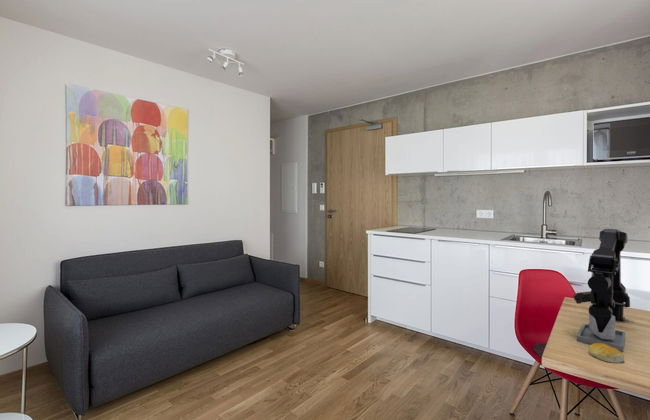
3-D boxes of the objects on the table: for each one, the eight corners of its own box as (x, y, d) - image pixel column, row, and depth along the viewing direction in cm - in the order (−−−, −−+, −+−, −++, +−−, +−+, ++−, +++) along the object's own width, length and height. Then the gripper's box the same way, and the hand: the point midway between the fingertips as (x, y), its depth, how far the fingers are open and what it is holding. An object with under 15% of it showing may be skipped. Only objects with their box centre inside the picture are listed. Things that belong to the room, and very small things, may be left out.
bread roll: (605, 350, 113) (605, 339, 113) (629, 363, 104) (630, 351, 104) (581, 351, 113) (581, 339, 113) (604, 363, 104) (604, 351, 104)
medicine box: (615, 340, 118) (616, 316, 118) (601, 339, 119) (601, 315, 119) (601, 331, 126) (602, 309, 125) (588, 330, 127) (589, 308, 126)
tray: (583, 328, 133) (583, 323, 133) (625, 337, 124) (625, 332, 124) (576, 341, 120) (576, 335, 120) (623, 352, 112) (623, 346, 112)
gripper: (579, 279, 134) (578, 317, 135) (571, 287, 121) (570, 329, 121) (615, 284, 126) (614, 324, 127) (611, 294, 113) (610, 338, 113)
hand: (601, 328), depth 122 cm, fingers closed on medicine box, 9 cm apart
